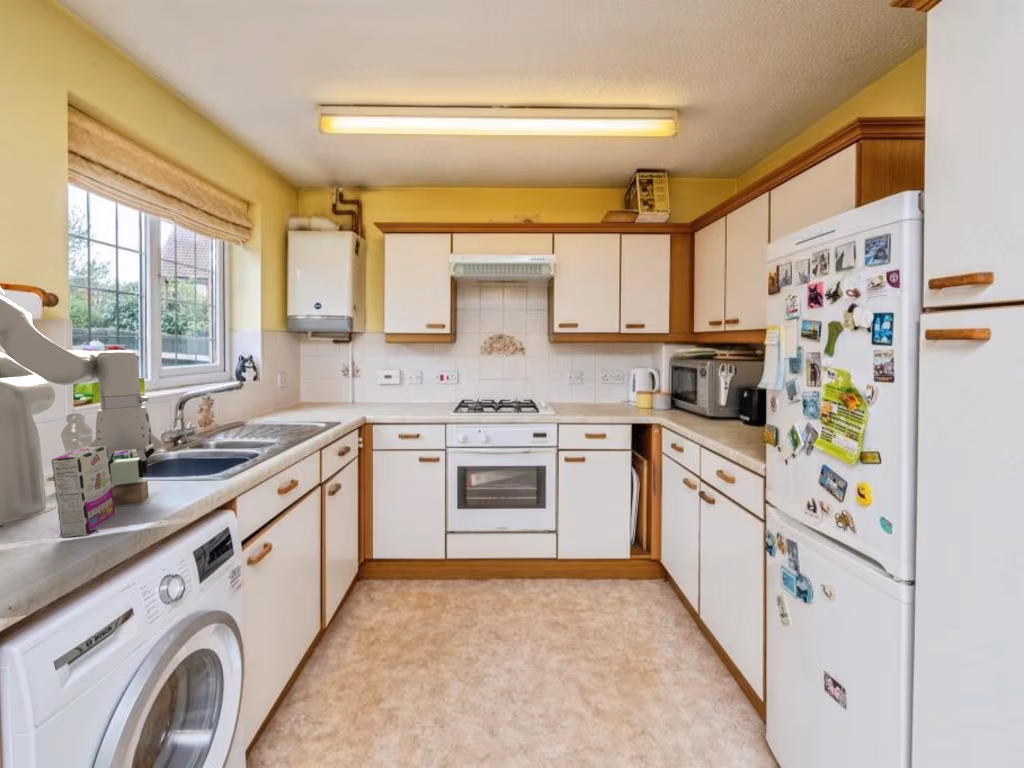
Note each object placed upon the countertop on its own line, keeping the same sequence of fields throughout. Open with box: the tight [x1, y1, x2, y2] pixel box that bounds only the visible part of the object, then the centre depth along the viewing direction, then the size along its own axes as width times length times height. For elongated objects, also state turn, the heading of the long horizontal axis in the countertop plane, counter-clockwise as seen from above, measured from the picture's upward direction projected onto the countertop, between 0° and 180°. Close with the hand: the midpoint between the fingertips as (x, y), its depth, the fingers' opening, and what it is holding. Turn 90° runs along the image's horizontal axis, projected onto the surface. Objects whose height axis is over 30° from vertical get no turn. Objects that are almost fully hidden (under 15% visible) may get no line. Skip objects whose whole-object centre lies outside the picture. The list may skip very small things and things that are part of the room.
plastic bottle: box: [60, 412, 94, 454], centre depth 135 cm, size 6×7×20 cm
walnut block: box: [112, 479, 149, 506], centre depth 118 cm, size 6×6×4 cm
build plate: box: [114, 492, 158, 509], centre depth 118 cm, size 9×10×1 cm
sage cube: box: [110, 456, 144, 485], centre depth 117 cm, size 5×5×5 cm
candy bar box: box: [51, 446, 115, 539], centre depth 102 cm, size 11×5×16 cm, turn 17°
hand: (128, 477), depth 117 cm, fingers closed on sage cube, 5 cm apart
